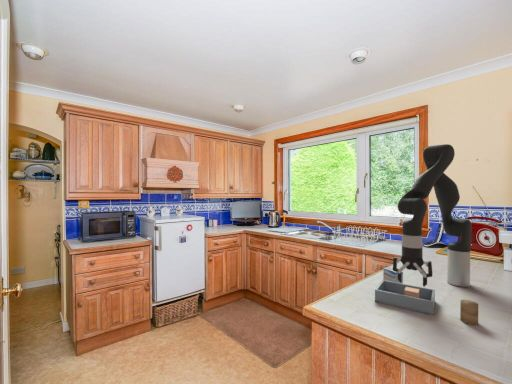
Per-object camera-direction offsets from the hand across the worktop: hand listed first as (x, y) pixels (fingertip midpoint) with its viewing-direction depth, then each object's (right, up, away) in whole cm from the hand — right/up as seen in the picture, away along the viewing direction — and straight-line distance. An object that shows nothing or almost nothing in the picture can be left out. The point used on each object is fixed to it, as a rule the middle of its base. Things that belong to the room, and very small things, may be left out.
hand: (412, 283), depth 111 cm
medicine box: (+1, -8, +17) cm, 19 cm away
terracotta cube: (0, -7, 0) cm, 7 cm away
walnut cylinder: (+11, -8, -16) cm, 21 cm away
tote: (-2, -8, +1) cm, 8 cm away
